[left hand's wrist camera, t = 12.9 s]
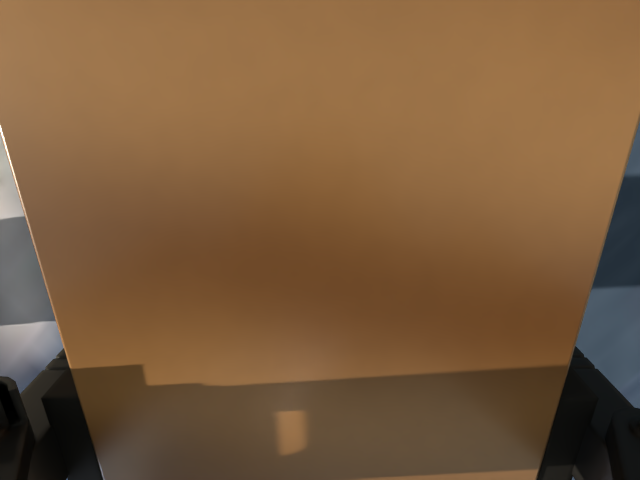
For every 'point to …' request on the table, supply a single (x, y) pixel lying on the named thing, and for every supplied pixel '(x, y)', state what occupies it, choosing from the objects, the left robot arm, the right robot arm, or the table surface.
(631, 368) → the table surface
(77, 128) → the wide beam
